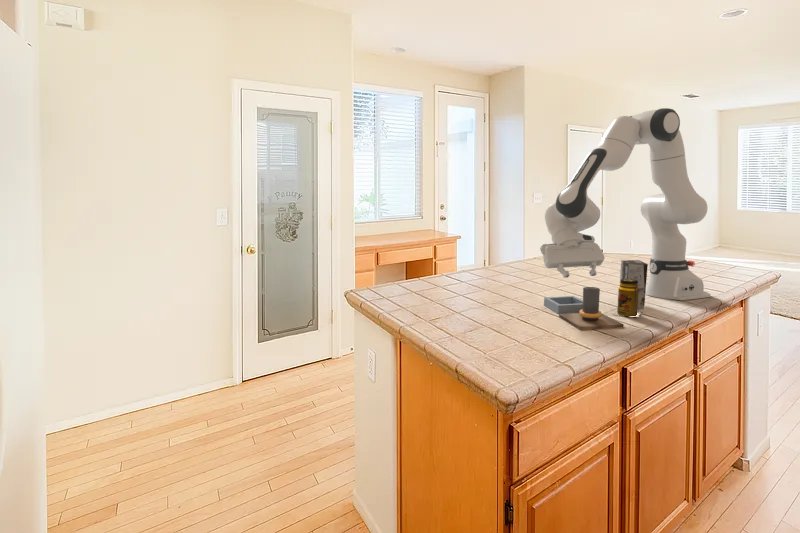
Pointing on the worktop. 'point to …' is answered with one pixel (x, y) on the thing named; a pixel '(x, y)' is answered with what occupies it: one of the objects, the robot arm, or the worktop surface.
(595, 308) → the plug
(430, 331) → the worktop surface
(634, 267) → the coffee box
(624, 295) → the condiment
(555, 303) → the socket
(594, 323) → the walnut board
